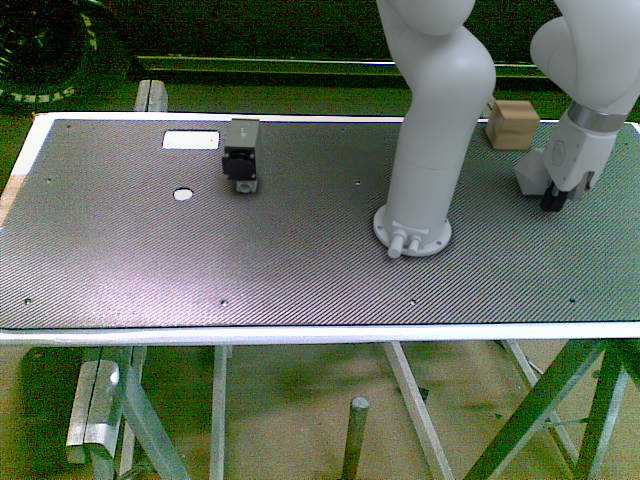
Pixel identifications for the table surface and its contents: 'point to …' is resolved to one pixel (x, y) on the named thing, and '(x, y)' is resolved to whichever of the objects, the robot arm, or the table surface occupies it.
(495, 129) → the maple block
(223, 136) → the pneumatic valve
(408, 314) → the table surface
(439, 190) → the robot arm
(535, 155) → the die
